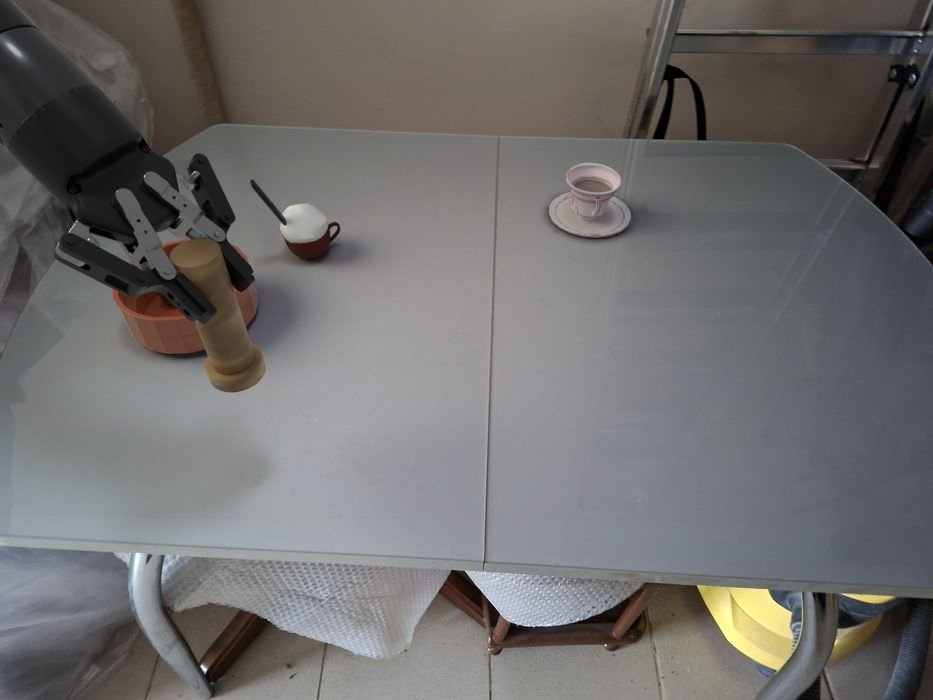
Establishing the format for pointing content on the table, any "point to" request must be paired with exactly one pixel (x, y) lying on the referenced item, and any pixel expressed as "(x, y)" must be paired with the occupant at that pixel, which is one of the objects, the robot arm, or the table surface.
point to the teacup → (591, 202)
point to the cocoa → (302, 227)
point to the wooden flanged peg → (220, 317)
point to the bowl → (172, 317)
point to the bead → (164, 298)
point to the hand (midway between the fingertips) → (229, 301)
